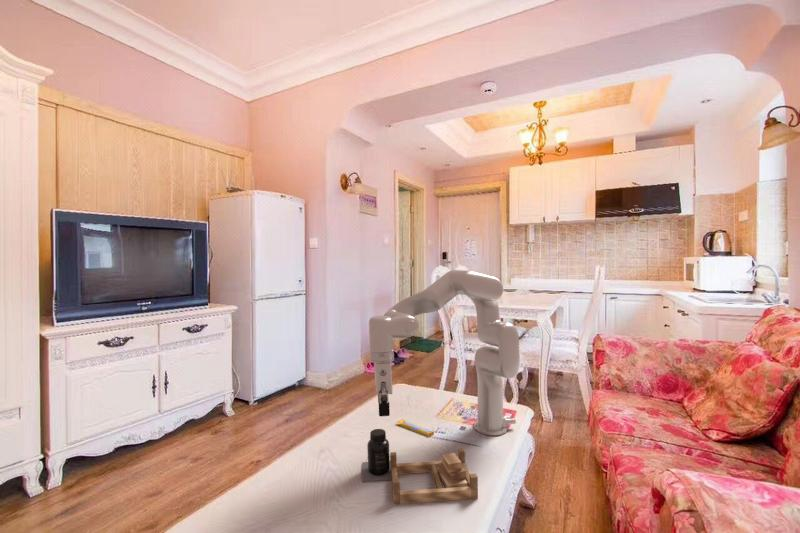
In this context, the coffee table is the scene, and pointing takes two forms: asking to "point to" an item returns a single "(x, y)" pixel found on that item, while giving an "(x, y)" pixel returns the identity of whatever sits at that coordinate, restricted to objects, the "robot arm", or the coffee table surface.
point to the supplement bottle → (378, 453)
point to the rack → (439, 492)
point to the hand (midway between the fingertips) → (383, 408)
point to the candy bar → (415, 428)
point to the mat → (373, 478)
